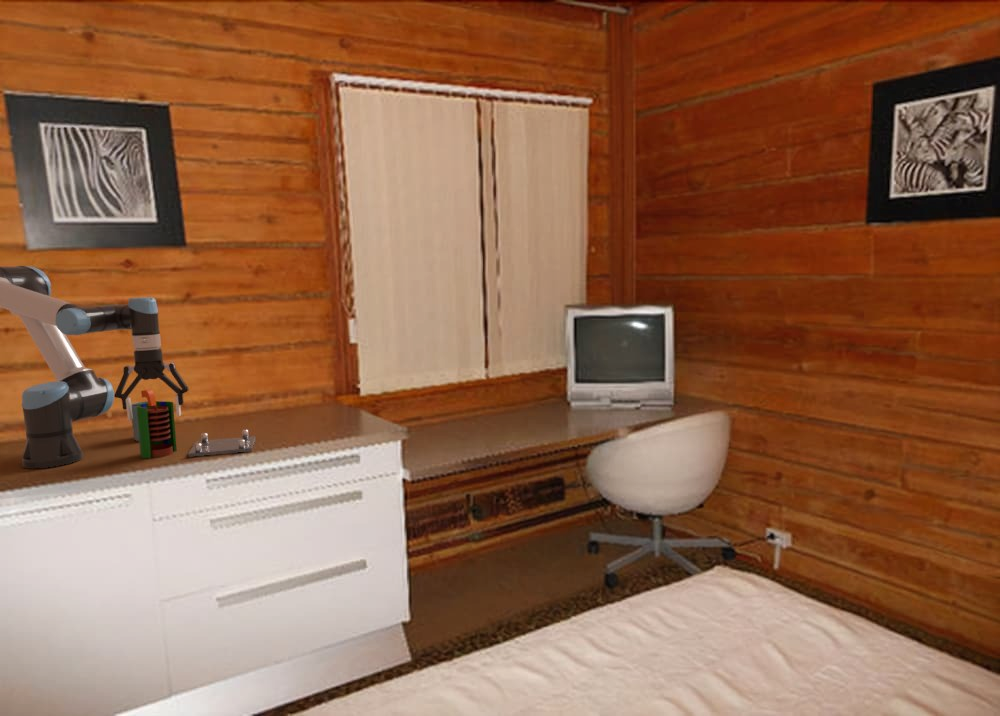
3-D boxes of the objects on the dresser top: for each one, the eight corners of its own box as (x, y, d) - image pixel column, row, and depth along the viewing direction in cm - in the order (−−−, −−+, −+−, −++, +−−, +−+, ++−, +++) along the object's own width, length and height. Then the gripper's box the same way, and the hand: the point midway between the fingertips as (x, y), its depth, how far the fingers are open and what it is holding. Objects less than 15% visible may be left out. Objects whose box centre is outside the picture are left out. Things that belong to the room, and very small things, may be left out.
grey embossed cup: (133, 437, 235) (129, 402, 233) (165, 433, 239) (162, 399, 238) (132, 443, 226) (129, 407, 224) (166, 439, 230) (163, 404, 229)
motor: (159, 459, 206) (152, 393, 203) (133, 458, 208) (126, 393, 205) (181, 450, 216) (175, 387, 213) (156, 449, 217) (150, 387, 215)
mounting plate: (188, 457, 207) (187, 445, 206) (196, 444, 222) (195, 433, 221) (251, 451, 211) (250, 440, 211) (255, 439, 227) (254, 428, 226)
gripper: (97, 352, 200) (106, 424, 203) (190, 347, 207) (197, 416, 210) (105, 350, 207) (113, 419, 210) (194, 344, 214) (200, 411, 217)
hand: (154, 417), depth 210 cm, fingers open, 13 cm apart
